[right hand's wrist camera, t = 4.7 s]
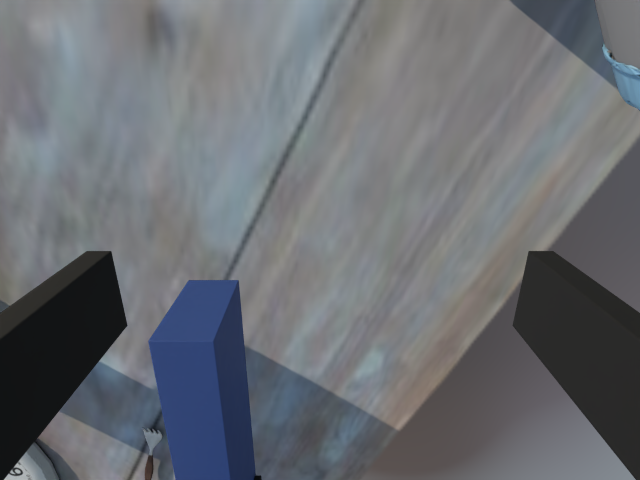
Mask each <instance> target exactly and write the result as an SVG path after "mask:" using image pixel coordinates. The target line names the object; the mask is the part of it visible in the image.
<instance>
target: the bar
mask: <svg viewBox="0 0 640 480" xmlns="http://www.w3.org/2000/svg"><path fill="white" fill-rule="evenodd" d="M148 342H149V347H150V352H151V357H152V362H153V367H154V372H155V378H156V383H157V388H158V393H159V398H160V403H161V408H162V413H163V418H164V423H165V428H166V433H167V438H168V443H169V449H170V454H171V459H172V464H173V469H174V474H175V479H176V480H254V476H256V474H255V463H254V451H253V440H252V428H251V417H250V406H249V394H248V383H247V371H246V360H245V348H244V337H243V325H242V314H241V303H240V291H239V281H238V280H189V281H188V282H187V284H186V285H185V287H184V288H183V290H182V291H181V293H180V294H179V296H178V297H177V299H176V300H175V302H174V303H173V305H172V306H171V308H170V309H169V311H168V312H167V314H166V315H165V317H164V318H163V320H162V321H161V323H160V324H159V326H158V327H157V329H156V330H155V332H154V333H153V335H152V336H151V338H150V339H149V341H148Z"/></svg>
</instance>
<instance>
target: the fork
mask: <svg viewBox="0 0 640 480" xmlns="http://www.w3.org/2000/svg"><path fill="white" fill-rule="evenodd" d="M142 429H143V430H144V435H145V438H146V440H147V443H148V445H149V448H150V452H149V456H148V460H147V464H146V468H145V480H151V478H152V474H153V448H154V447H155V446H156V445H157V444H158V443H159V442H160V441H161V439H162V434H161V432H160V431H159V430H157V431H158V433H159V434H158V433H157V432H156V431H155V430H154V429H152V430H153V432H154V433H153V432H151V430H150V429H149V428H147V430H148V431H149V432H147V431H146V429H145V428H143V427H142Z"/></svg>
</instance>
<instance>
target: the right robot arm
mask: <svg viewBox="0 0 640 480" xmlns="http://www.w3.org/2000/svg"><path fill="white" fill-rule="evenodd" d="M595 5H596V9H597V13H598V18H599V22H600V26H601V31H602V35H603V40H604V43H603V46H602V49H603V53H604V56H605V58H606V60H607V61H608V62H609V63H610V64H611V67H612V70H613V73H614V76H615V80H616V83H617V86H618V90H619V93H620V95H621V96H622V98H623V99H624V100H625V102H626V103H627V104H629V105H631V106H633V107H635V108H637V109H638V110H639V111H640V0H595ZM126 327H127V322H126V317H125V312H124V308H123V303H122V299H121V294H120V289H119V285H118V280H117V276H116V271H115V266H114V262H113V257H112V252H111V251H86V252H85V253H84V254H82V255H81V256H79V257H78V258H77V259H75V260H74V261H72V262H71V263H70V264H68V265H67V266H65V267H64V268H63V269H61V270H60V271H58V272H57V273H56V274H54V275H53V276H51V277H50V278H49V279H47V280H46V281H44V282H43V283H42V284H40V285H39V286H37V287H36V288H35V289H33V290H32V291H30V292H29V293H28V294H26V295H25V296H23V297H22V298H21V299H19V300H18V301H16V302H15V303H14V304H12V305H11V306H9V307H8V308H7V309H5V310H4V311H2V312H1V313H0V480H4V479H5V478H6V477H7V475H8V474H9V473H10V472H11V470H12V469H13V468H14V467H15V465H16V464H17V463H18V462H19V460H20V459H21V458H22V457H23V455H24V454H25V453H26V452H27V450H28V449H29V448H30V447H31V445H32V444H33V443H34V442H35V440H36V439H37V438H38V437H39V435H40V434H41V433H42V432H43V430H44V429H45V428H46V427H47V425H48V424H49V423H50V422H51V420H52V419H53V418H54V417H55V415H56V414H57V413H58V412H59V410H60V409H61V408H62V407H63V405H64V404H65V403H66V402H67V400H68V399H69V398H70V397H71V395H72V394H73V393H74V392H75V390H76V389H77V388H78V387H79V385H80V384H81V383H82V382H83V380H84V379H85V378H86V377H87V375H88V374H89V373H90V372H91V370H92V369H93V368H94V367H95V365H96V364H97V363H98V362H99V360H100V359H101V358H102V357H103V355H104V354H105V353H106V352H107V350H108V349H109V348H110V347H111V345H112V344H113V343H114V342H115V340H116V339H117V338H118V337H119V335H120V334H121V333H122V332H123V330H124V329H125V328H126ZM513 327H514V328H515V329H516V330H517V332H518V333H519V334H520V335H521V337H522V338H523V339H524V340H525V342H526V343H527V344H528V345H529V347H530V348H531V349H532V350H533V352H534V353H535V354H536V355H537V357H538V358H539V359H540V360H541V362H542V363H543V364H544V365H545V367H546V368H547V369H548V370H549V372H550V373H551V374H552V375H553V376H554V378H555V379H556V380H557V381H558V383H559V384H560V385H561V387H562V388H563V389H564V390H565V392H566V393H567V394H568V395H569V396H570V398H571V399H572V400H573V402H574V403H575V404H576V405H577V407H578V408H579V409H580V410H581V412H582V413H583V414H584V415H585V416H586V418H587V419H588V420H589V422H590V423H591V424H592V425H593V427H594V428H595V429H596V430H597V432H598V433H599V434H600V435H601V437H602V438H603V439H604V440H605V442H606V443H607V444H608V445H609V447H610V448H611V449H612V450H613V452H614V453H615V454H616V455H617V457H618V458H619V459H620V460H621V462H622V463H623V464H624V465H625V466H626V468H627V469H628V470H629V472H630V473H631V474H632V475H633V476H634V478H635V479H636V480H640V313H639V312H638V311H636V310H635V309H633V308H632V307H631V306H629V305H628V304H626V303H625V302H624V301H622V300H621V299H619V298H618V297H617V296H615V295H614V294H612V293H611V292H609V291H608V290H607V289H605V288H604V287H603V286H601V285H600V284H598V283H597V282H596V281H594V280H593V279H591V278H590V277H589V276H587V275H586V274H584V273H583V272H581V271H580V270H579V269H577V268H576V267H575V266H573V265H572V264H570V263H569V262H568V261H566V260H565V259H563V258H562V257H561V256H559V255H558V254H556V253H555V252H554V251H529V252H528V257H527V262H526V266H525V271H524V276H523V280H522V285H521V289H520V294H519V299H518V304H517V308H516V313H515V317H514V322H513Z"/></svg>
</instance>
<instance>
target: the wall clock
mask: <svg viewBox="0 0 640 480" xmlns="http://www.w3.org/2000/svg"><path fill="white" fill-rule="evenodd" d="M4 480H59V477H58V475H57V473H56V471H55V469H54V466H53V464H52V462H51V461H50V460H49V458H48V457H47V456H46V455H45V454H44V452H43V451H42V450H41V449H40V448H39V446H38V445H37V444H36V443H35V442H34V443H33V444H32V445H31V447H30V448H29V449H28V450H27V452H26V453H25V454H24V455H23V457H22V458H21V459H20V460H19V462H18V463H17V464H16V465H15V467H14V468H13V469H12V470H11V472H10V473H9V474H8V475H7V477H6V478H5V479H4Z"/></svg>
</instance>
